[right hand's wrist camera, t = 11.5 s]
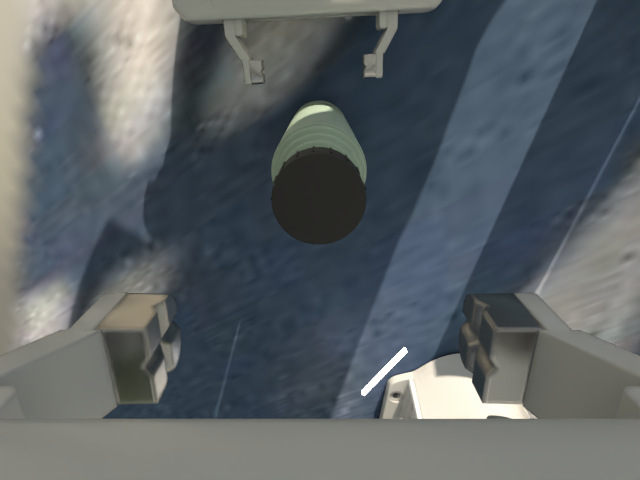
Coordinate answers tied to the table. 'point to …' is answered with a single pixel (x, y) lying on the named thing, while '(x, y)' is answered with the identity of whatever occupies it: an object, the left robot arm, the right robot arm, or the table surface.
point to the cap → (318, 195)
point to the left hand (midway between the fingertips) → (313, 81)
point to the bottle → (319, 135)
